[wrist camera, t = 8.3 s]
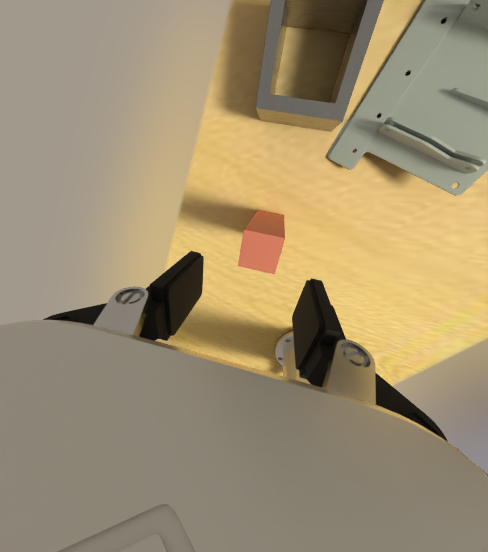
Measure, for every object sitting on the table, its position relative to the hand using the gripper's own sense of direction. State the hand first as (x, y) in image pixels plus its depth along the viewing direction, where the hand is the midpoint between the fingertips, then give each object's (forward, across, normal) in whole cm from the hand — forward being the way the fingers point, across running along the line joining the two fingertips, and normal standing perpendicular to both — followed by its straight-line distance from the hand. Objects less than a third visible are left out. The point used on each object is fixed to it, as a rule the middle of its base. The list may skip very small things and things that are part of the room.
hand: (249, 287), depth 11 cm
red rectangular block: (+16, 0, 0) cm, 16 cm away
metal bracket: (+16, -13, -14) cm, 25 cm away
